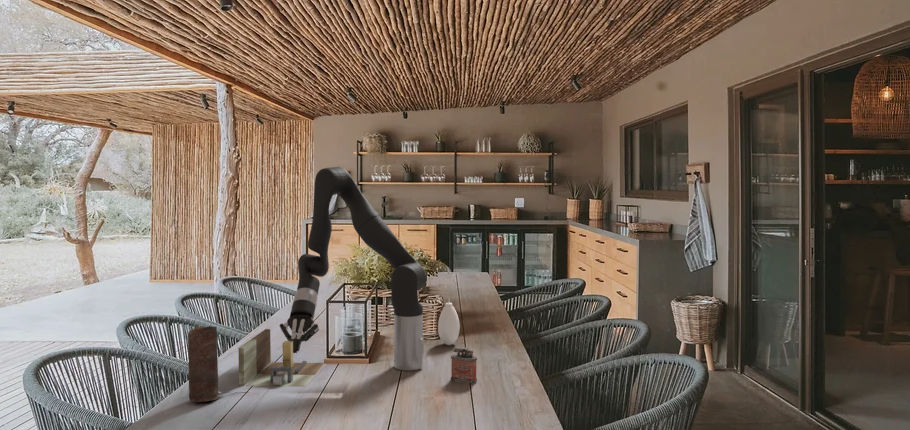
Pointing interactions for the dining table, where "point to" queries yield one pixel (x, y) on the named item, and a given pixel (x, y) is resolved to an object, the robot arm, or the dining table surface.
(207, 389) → the candle
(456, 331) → the white ceramic vase
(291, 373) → the rails
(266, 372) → the door mockup
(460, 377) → the lighter
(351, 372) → the dining table surface
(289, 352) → the bolt
